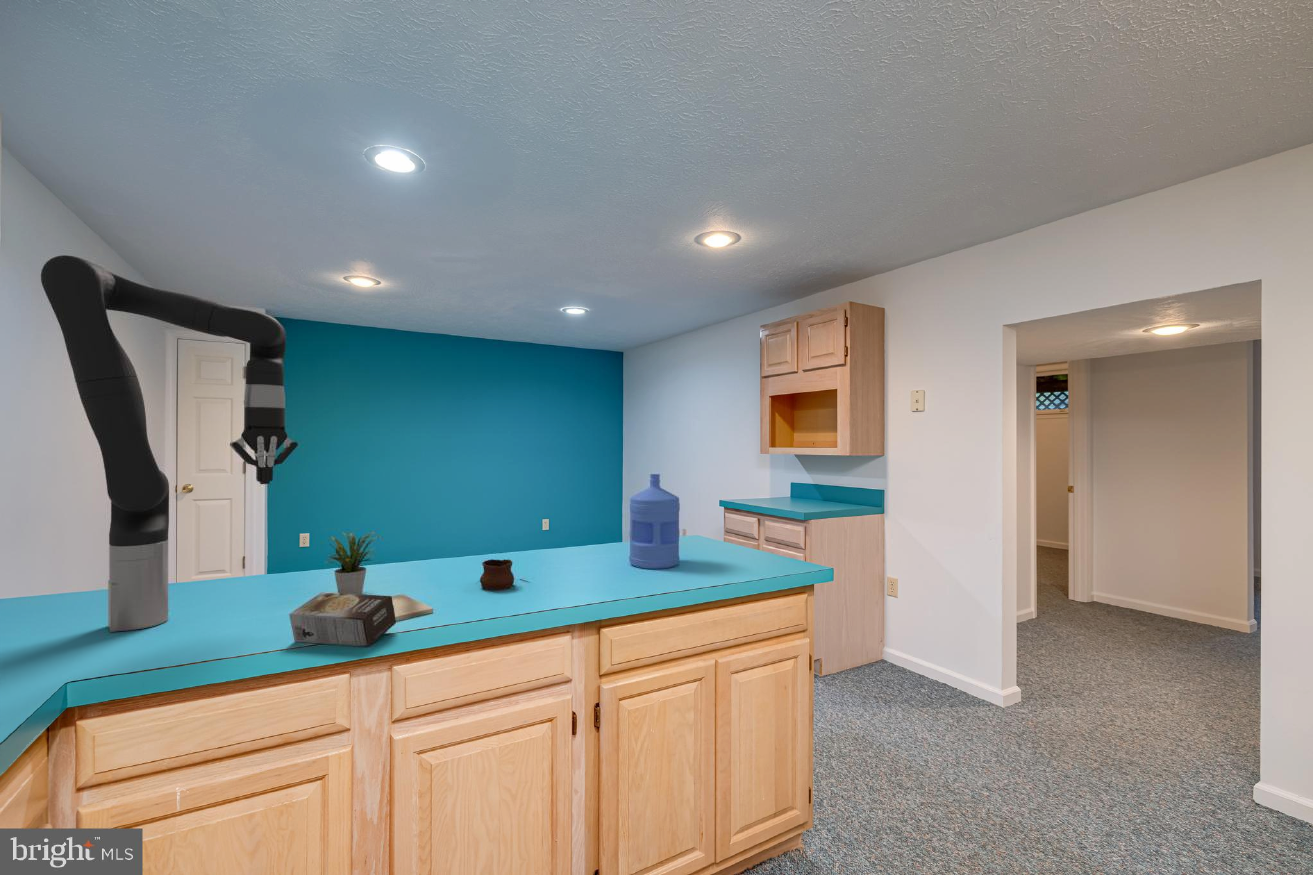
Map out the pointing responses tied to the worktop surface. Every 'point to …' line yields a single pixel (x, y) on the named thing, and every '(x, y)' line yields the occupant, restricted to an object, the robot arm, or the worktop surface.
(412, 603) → the cutting board
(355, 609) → the coffee box
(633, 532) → the water jug
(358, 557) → the house plant
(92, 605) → the worktop surface
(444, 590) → the worktop surface
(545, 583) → the worktop surface
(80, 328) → the robot arm
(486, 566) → the ceramic pot
